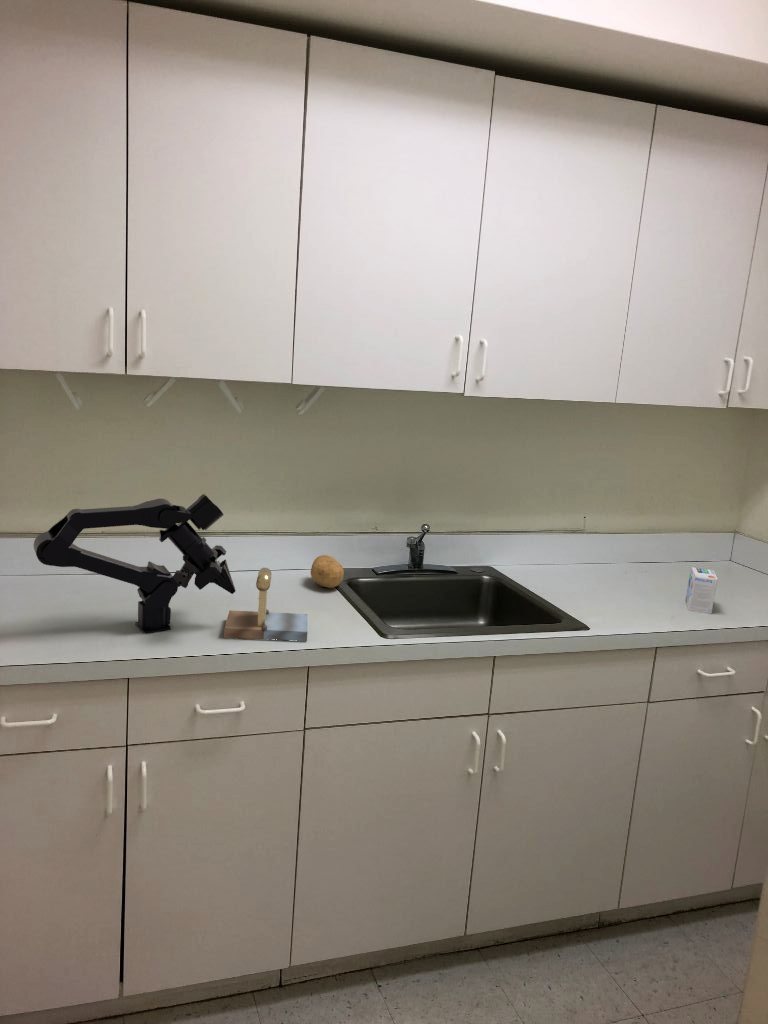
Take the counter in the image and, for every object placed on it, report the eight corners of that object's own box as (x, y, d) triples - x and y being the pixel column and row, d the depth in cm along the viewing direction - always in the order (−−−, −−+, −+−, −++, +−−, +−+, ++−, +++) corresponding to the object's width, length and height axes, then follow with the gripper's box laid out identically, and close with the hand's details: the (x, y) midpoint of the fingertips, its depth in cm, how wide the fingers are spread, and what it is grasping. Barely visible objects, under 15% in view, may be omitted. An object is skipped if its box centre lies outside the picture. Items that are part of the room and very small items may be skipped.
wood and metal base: (224, 638, 186) (224, 625, 186) (228, 620, 198) (229, 607, 197) (306, 641, 189) (307, 628, 188) (306, 623, 200) (307, 611, 199)
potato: (313, 594, 223) (315, 566, 221) (305, 578, 236) (307, 552, 234) (348, 594, 225) (350, 566, 224) (338, 578, 239) (340, 552, 237)
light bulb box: (684, 600, 247) (690, 566, 245) (707, 603, 245) (713, 569, 243) (688, 610, 237) (694, 575, 234) (712, 614, 235) (718, 579, 233)
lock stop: (254, 626, 188) (256, 577, 186) (256, 613, 196) (258, 567, 194) (267, 626, 189) (270, 578, 186) (269, 614, 197) (271, 567, 194)
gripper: (168, 553, 198) (211, 599, 202) (157, 577, 180) (204, 627, 184) (204, 525, 197) (245, 572, 201) (196, 546, 179) (242, 597, 183)
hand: (234, 592), depth 192 cm, fingers closed
